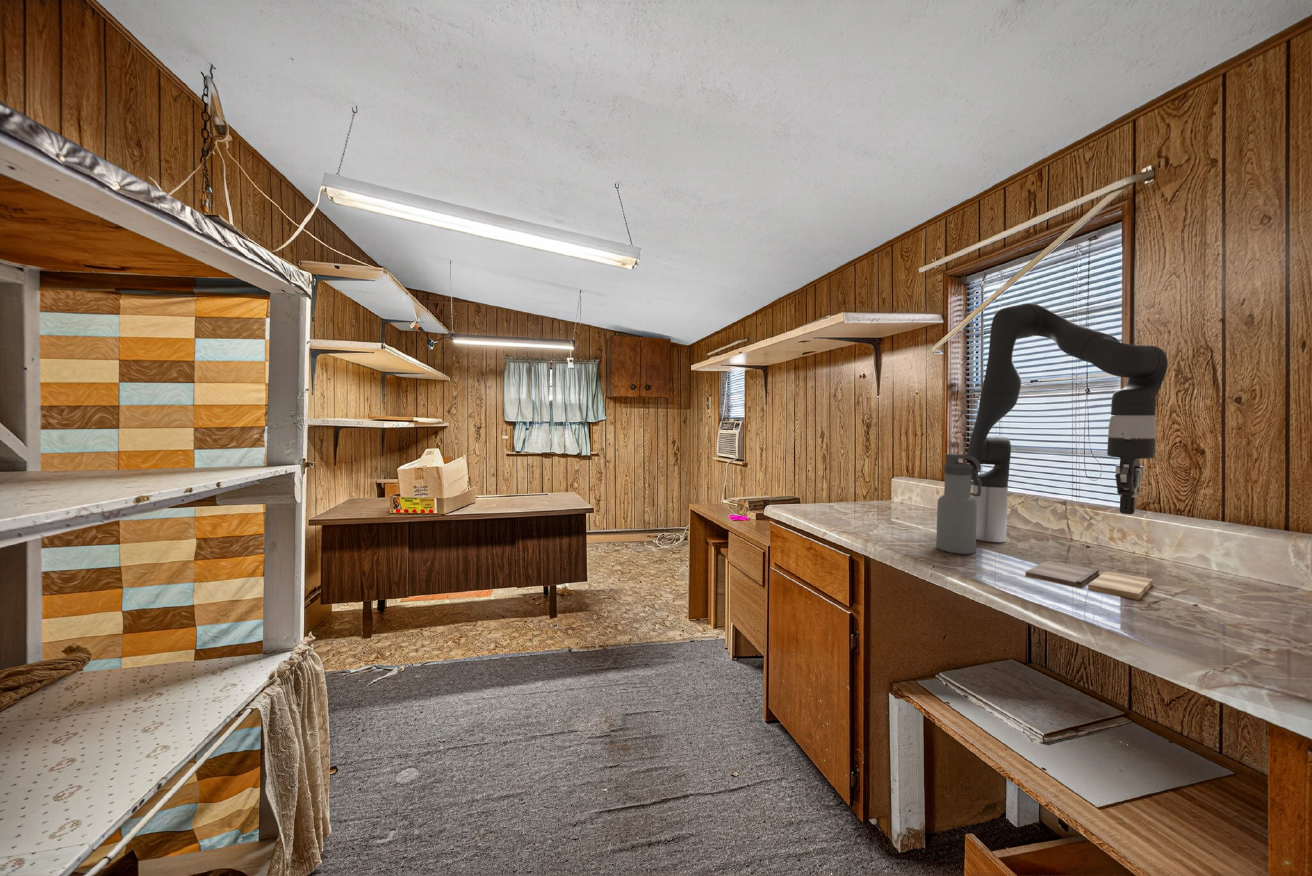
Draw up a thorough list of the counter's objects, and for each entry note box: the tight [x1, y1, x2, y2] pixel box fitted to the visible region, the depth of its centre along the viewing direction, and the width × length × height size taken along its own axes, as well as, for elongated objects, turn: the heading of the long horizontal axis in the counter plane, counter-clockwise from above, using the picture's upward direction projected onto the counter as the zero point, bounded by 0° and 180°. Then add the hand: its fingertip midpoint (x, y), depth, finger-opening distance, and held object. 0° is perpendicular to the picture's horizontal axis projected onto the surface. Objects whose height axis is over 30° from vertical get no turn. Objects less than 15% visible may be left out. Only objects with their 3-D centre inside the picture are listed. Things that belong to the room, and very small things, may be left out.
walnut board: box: [1024, 560, 1100, 589], centre depth 114 cm, size 16×10×2 cm, turn 127°
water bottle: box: [935, 453, 982, 555], centre depth 139 cm, size 10×10×28 cm
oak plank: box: [1087, 571, 1154, 601], centre depth 106 cm, size 16×8×2 cm, turn 127°
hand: (1127, 513), depth 107 cm, fingers closed
